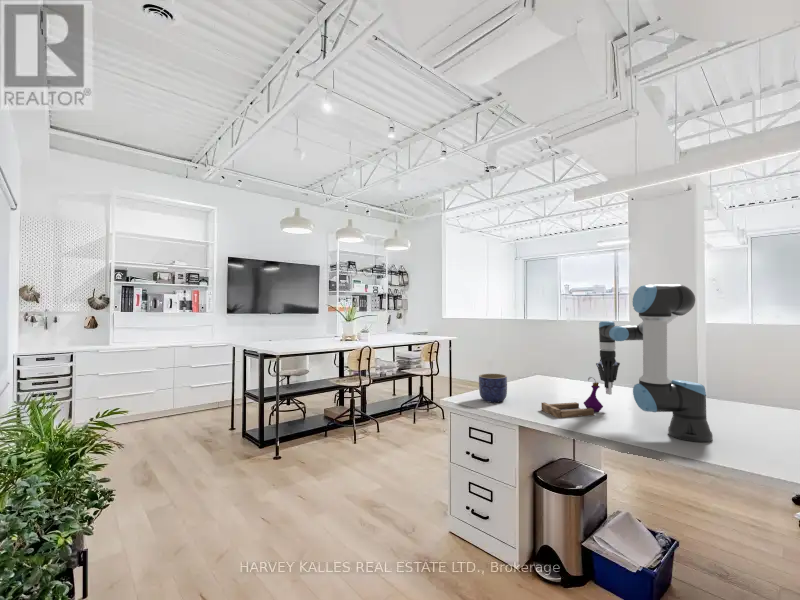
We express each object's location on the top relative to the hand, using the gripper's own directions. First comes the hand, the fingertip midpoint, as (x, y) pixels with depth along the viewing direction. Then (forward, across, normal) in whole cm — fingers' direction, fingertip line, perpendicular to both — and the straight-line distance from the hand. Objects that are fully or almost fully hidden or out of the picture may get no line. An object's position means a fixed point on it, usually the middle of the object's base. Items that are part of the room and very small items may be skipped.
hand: (608, 393), depth 210 cm
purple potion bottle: (+9, +10, 0) cm, 13 cm away
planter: (+9, +52, -34) cm, 62 cm away
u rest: (+8, +25, 0) cm, 26 cm away
